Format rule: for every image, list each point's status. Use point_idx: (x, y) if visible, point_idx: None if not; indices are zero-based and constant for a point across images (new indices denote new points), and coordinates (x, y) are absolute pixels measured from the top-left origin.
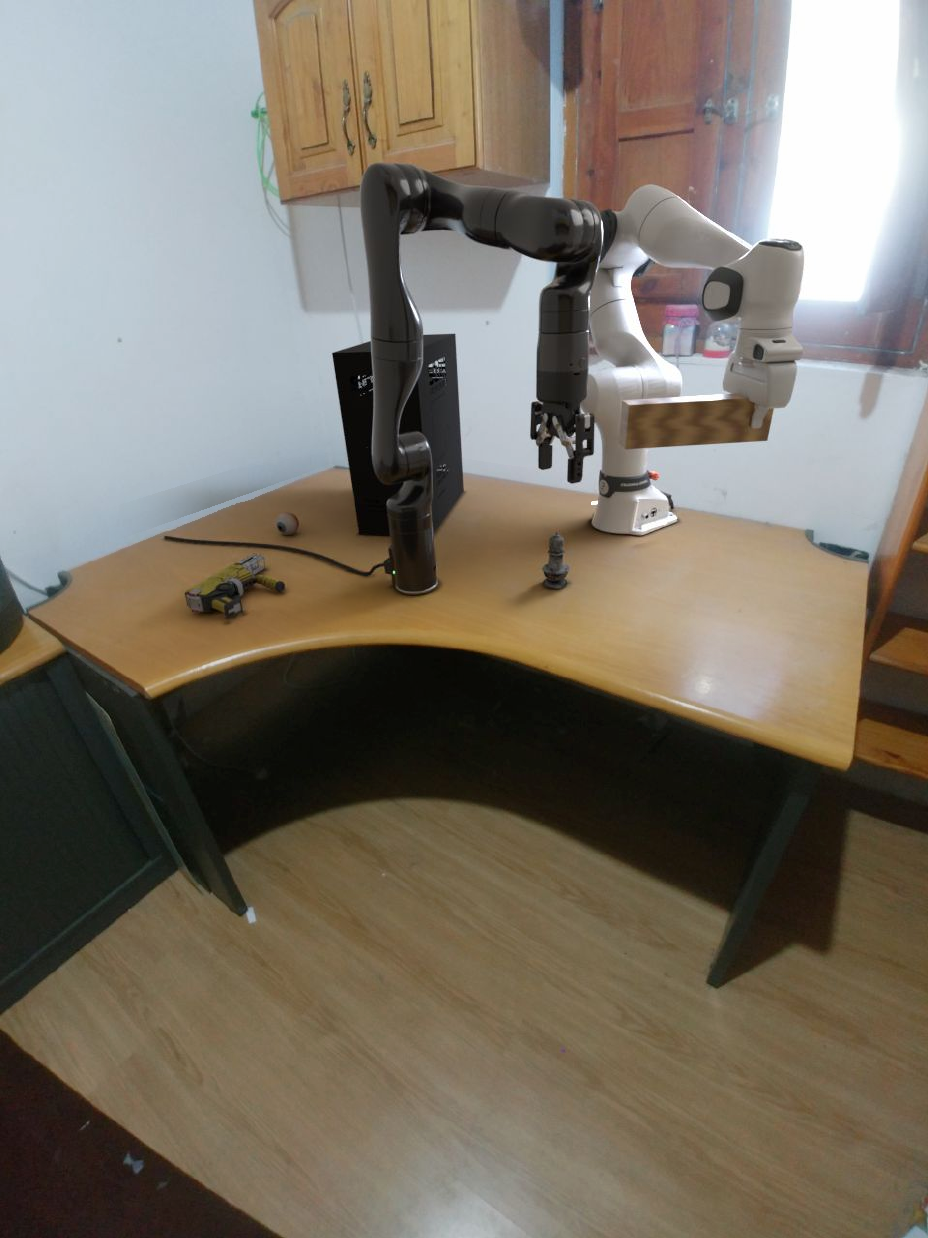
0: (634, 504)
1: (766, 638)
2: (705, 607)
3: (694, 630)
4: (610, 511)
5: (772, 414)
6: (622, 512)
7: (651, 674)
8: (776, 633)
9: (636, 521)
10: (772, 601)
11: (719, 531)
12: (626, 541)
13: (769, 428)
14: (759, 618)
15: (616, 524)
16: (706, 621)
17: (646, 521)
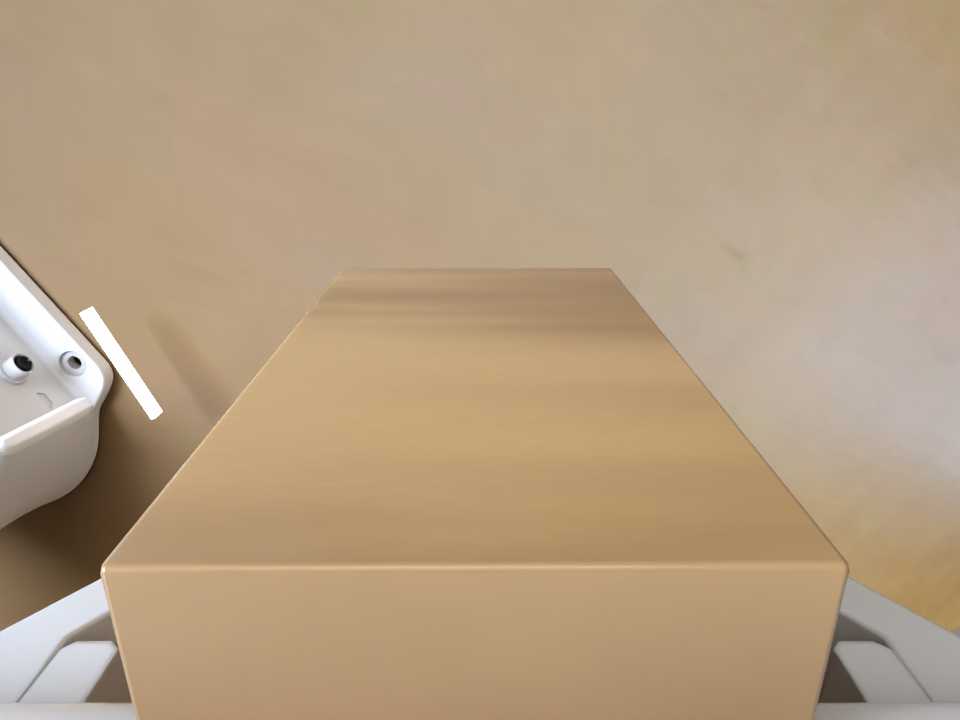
0: (16, 452)
1: (906, 248)
2: (691, 344)
3: (804, 417)
4: (22, 508)
5: (693, 373)
6: (36, 472)
7: (950, 565)
8: (892, 206)
9: (52, 398)
10: (706, 118)
11: (46, 33)
12: (167, 430)
13: (638, 308)
14: (797, 215)
15: (70, 464)
16: (768, 371)
17: (17, 344)
